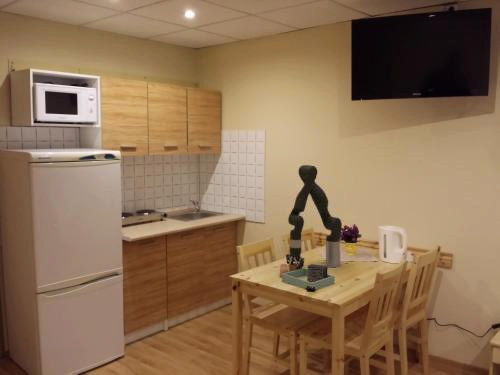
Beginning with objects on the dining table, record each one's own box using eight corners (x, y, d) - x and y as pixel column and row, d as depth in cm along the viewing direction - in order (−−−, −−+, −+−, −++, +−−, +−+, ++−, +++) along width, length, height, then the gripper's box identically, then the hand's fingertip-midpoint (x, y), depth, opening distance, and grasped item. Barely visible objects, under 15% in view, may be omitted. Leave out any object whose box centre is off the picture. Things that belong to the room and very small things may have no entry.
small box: (327, 282, 276) (328, 265, 275) (323, 285, 270) (324, 268, 269) (311, 280, 281) (311, 263, 280) (307, 283, 276) (307, 265, 275)
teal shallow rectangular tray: (304, 274, 292) (304, 267, 292) (334, 283, 275) (334, 276, 274) (281, 281, 279) (281, 274, 279) (312, 290, 261) (312, 283, 261)
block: (295, 271, 299) (295, 262, 299) (302, 273, 295) (302, 264, 294) (288, 273, 295) (288, 264, 295) (295, 275, 291) (295, 266, 290)
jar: (283, 275, 292) (283, 263, 292) (289, 276, 289) (289, 264, 288) (278, 276, 289) (278, 264, 288) (284, 278, 286) (284, 266, 285)
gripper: (307, 247, 290) (307, 273, 292) (291, 243, 301) (290, 268, 303) (299, 249, 285) (299, 275, 287) (283, 244, 296) (282, 270, 298)
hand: (294, 271), depth 295 cm, fingers closed on block, 6 cm apart
